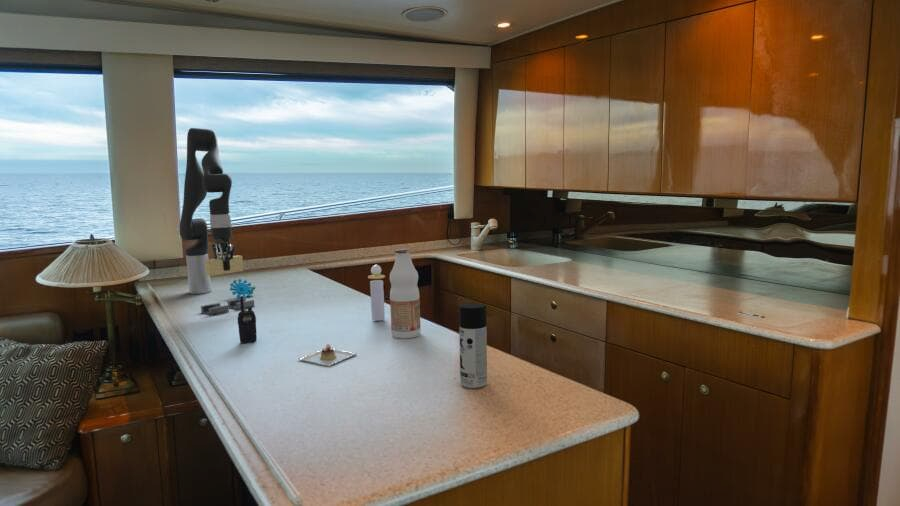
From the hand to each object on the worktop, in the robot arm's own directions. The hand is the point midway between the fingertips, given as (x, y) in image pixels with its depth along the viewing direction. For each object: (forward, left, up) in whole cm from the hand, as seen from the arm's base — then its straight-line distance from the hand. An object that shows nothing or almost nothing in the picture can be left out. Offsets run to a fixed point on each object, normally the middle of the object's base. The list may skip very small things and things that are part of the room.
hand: (224, 269), depth 233 cm
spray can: (+128, -5, -16) cm, 129 cm away
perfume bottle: (+62, +23, -16) cm, 68 cm away
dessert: (+82, -14, -17) cm, 84 cm away
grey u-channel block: (0, 0, -16) cm, 16 cm away
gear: (-17, +16, -16) cm, 28 cm away
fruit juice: (+83, +16, -16) cm, 86 cm away
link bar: (0, 0, -1) cm, 1 cm away
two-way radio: (+47, -19, -16) cm, 53 cm away
